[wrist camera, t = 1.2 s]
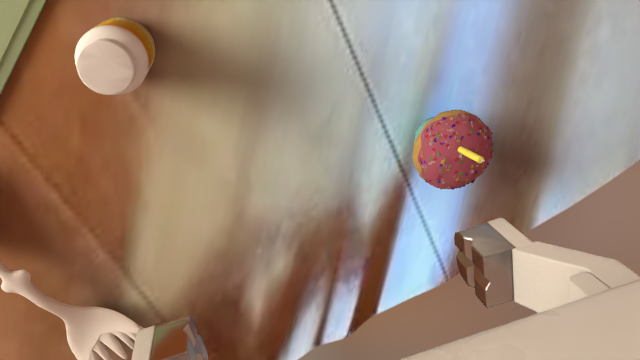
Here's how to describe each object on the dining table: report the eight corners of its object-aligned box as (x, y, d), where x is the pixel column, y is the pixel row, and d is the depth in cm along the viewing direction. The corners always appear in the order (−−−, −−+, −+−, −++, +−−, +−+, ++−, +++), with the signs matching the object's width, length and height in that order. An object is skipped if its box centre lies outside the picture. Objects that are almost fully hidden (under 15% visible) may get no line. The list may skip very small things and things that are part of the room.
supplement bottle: (106, 4, 43) (81, 15, 34) (165, 35, 45) (156, 52, 36) (83, 60, 44) (53, 84, 35) (142, 87, 46) (127, 116, 37)
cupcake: (387, 125, 53) (433, 166, 42) (455, 84, 53) (518, 116, 42) (416, 185, 57) (466, 236, 46) (480, 147, 57) (544, 191, 46)
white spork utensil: (102, 368, 58) (96, 391, 55) (-165, 176, 44) (-193, 193, 41) (162, 325, 57) (160, 346, 54) (-89, 116, 43) (-112, 128, 40)
